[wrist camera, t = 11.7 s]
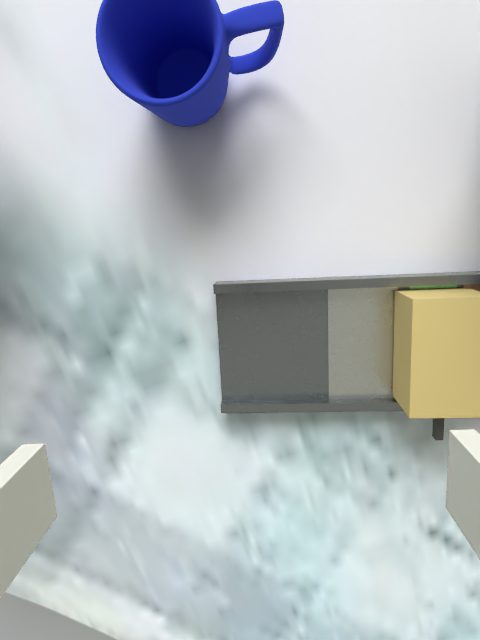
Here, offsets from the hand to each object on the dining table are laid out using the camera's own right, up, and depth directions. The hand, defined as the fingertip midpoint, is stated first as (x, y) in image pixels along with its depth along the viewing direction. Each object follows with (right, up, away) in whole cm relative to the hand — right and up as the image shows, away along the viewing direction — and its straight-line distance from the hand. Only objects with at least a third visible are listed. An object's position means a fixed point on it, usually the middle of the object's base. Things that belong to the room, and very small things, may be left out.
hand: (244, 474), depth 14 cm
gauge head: (+17, +2, +24) cm, 30 cm away
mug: (-3, +25, +23) cm, 34 cm away
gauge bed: (+11, +3, +26) cm, 29 cm away
